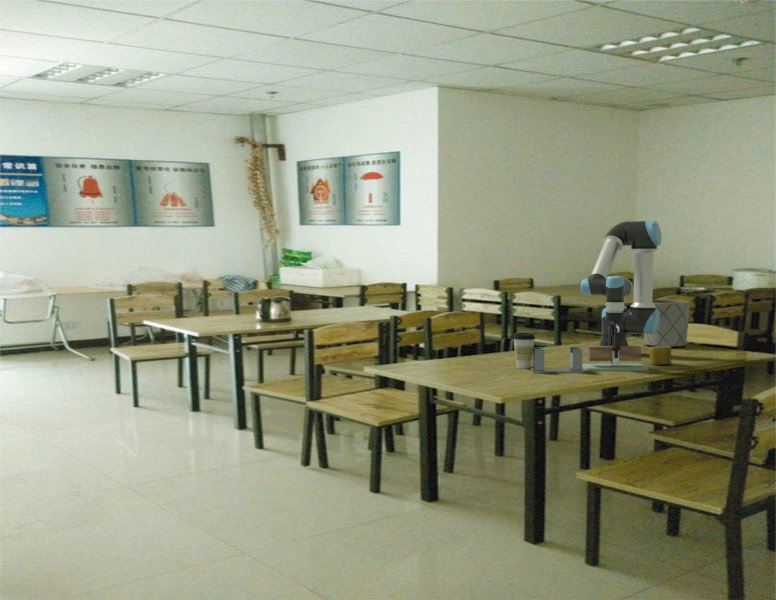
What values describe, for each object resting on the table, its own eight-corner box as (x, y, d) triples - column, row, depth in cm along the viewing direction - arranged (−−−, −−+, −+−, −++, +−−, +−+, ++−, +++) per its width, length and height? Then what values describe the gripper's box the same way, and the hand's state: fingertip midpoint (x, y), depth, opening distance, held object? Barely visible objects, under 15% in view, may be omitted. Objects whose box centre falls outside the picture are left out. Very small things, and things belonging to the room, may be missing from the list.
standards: (530, 369, 330) (530, 347, 330) (581, 369, 329) (581, 346, 329) (532, 373, 322) (533, 349, 322) (584, 372, 321) (585, 349, 321)
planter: (665, 350, 380) (666, 304, 378) (633, 344, 401) (633, 300, 399) (698, 347, 390) (699, 301, 388) (665, 341, 410) (666, 298, 408)
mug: (677, 362, 333) (669, 341, 335) (654, 369, 335) (646, 347, 337) (674, 363, 345) (667, 342, 346) (651, 369, 347) (644, 349, 349)
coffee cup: (523, 370, 330) (523, 336, 328) (508, 366, 338) (508, 333, 337) (539, 367, 335) (539, 334, 334) (524, 364, 343) (524, 332, 342)
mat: (581, 365, 338) (581, 363, 338) (640, 365, 337) (640, 363, 337) (587, 370, 326) (587, 368, 326) (648, 370, 325) (648, 368, 325)
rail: (587, 359, 334) (588, 346, 333) (638, 359, 333) (638, 345, 332) (589, 360, 330) (590, 347, 329) (640, 360, 329) (641, 347, 328)
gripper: (601, 309, 338) (600, 361, 340) (611, 313, 321) (610, 367, 323) (618, 309, 338) (617, 361, 340) (628, 313, 321) (628, 367, 323)
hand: (614, 364), depth 332 cm, fingers closed on rail, 4 cm apart
